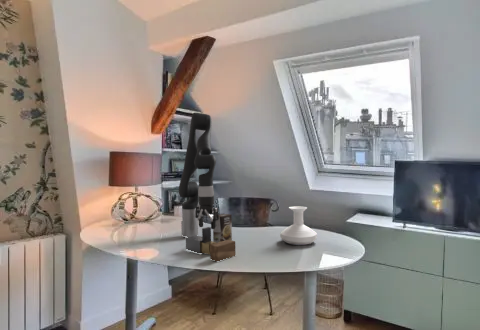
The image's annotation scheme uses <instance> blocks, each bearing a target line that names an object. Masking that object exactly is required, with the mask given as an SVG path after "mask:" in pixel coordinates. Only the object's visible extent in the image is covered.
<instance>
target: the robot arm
mask: <svg viewBox="0 0 480 330" xmlns="http://www.w3.org/2000/svg"><path fill="white" fill-rule="evenodd" d="M212 124H213V123H212V117H211V115H209V114H207V113H199V112H193V114H191V118H190V126H189V136H188V140H187V141H188V142H187V147H186V151H185V158H184V162H183V163H184V164H183V169H182V174H181V177H180V178H181V179H180V181H179V184H178V194H179V196H180V198H188V200H187V201H185V202H183V203H182V205H181V213H182V214H181V216H182V219H181V221H180V222H181V223H180V224H181V225H180V226H181V236H182V235H183V236H187V237H192V236H197V235H198V236H199V228H202V227H203V228H204V217H205V216H206V217H208V219H210V227H211V230H213V229H215V227H216V220H219V215H220V214H219V208H218V207H214V204H215V190H214V172H215V167H216V164H217V158H216V156H215V155H214V154H212V144H211V137H212ZM196 130H198V131H203V133H202V134H201V135H200V136H199V137H198V138H197V135H196ZM197 170H208V171H207V172H206V173H201V174H199V175H198V183H197V181H191V180H190V179H191V177H192V176H193V175H194V173H195V172H196V171H197Z"/></svg>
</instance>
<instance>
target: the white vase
mask: <svg viewBox="0 0 480 330" xmlns="http://www.w3.org/2000/svg"><path fill="white" fill-rule="evenodd" d="M288 209H290V210H291V211H292V212H293V224H291V225H289V226H287V227H286V228H284V229H283V230H281V232H280V233H279V235H280V239H281V240H283V242H285V243H287V244H289V245H295V246H304V245H310V244H313V242H315V241H316V240H317V239H318V233H317V232H316V231H315V230H313V229H312V228H310V227H309V226H307V225H305V224H304V212H305V211H306V210H307V209H308V207H307V206H302V205H301V206H298V205H295V206H289V207H288Z"/></svg>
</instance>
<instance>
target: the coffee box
mask: <svg viewBox="0 0 480 330" xmlns="http://www.w3.org/2000/svg"><path fill="white" fill-rule="evenodd" d="M232 215H233V214H231V213H221V214H219V220H216V227H215V229H212V231H213V232H212V238H213V239H212V240H213V242H216V243H218V242H222V241H225V240H231V241H233V230H232V229H233V226H232V225H233V223H232V222H233V221H232V219H233V218H232Z"/></svg>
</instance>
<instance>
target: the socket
mask: <svg viewBox="0 0 480 330" xmlns="http://www.w3.org/2000/svg"><path fill="white" fill-rule="evenodd" d="M235 255H236V241H235V240H232V241H231V240H225V241H222V242H218V243H215V244H212V245H210V255H209V256H210V259H212V260H215V261H214V262H216V261H220V260H223V259H226V258H228V259H230V258H229V257H231V258H233V257H232V256H234V257H236V256H235ZM210 259H209V260H210ZM212 260H211V261H212ZM226 260H227V259H226ZM223 261H224V260H223ZM220 262H221V261H220Z"/></svg>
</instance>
